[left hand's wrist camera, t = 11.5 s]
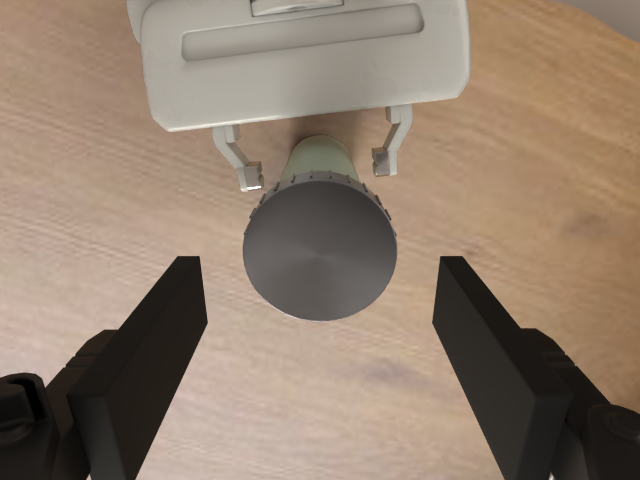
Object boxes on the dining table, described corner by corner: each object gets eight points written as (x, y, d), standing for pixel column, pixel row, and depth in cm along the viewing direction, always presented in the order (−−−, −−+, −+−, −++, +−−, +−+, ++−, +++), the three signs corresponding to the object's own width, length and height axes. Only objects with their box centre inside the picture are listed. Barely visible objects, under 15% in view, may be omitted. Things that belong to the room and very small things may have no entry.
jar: (356, 139, 33) (394, 200, 17) (346, 201, 35) (370, 312, 19) (291, 130, 33) (262, 183, 16) (285, 193, 35) (252, 298, 18)
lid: (405, 179, 18) (414, 190, 16) (377, 310, 20) (382, 330, 18) (253, 159, 17) (246, 167, 16) (243, 294, 20) (236, 314, 18)
